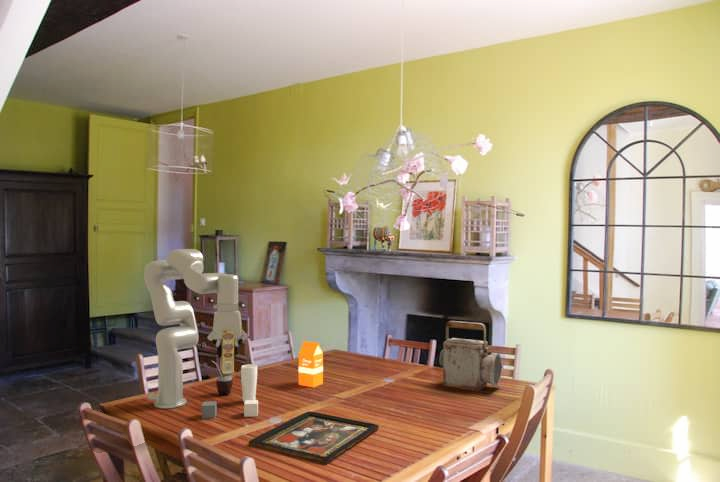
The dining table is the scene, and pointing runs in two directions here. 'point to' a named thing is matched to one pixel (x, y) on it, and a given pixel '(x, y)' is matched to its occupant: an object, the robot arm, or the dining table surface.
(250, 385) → the drinking glass
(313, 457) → the framed painting
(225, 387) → the mate gourd
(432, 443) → the dining table surface
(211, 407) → the dark grey block
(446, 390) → the dining table surface
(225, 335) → the candy box
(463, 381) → the lantern
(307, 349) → the orange juice
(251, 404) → the off-white block
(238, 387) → the dining table surface
